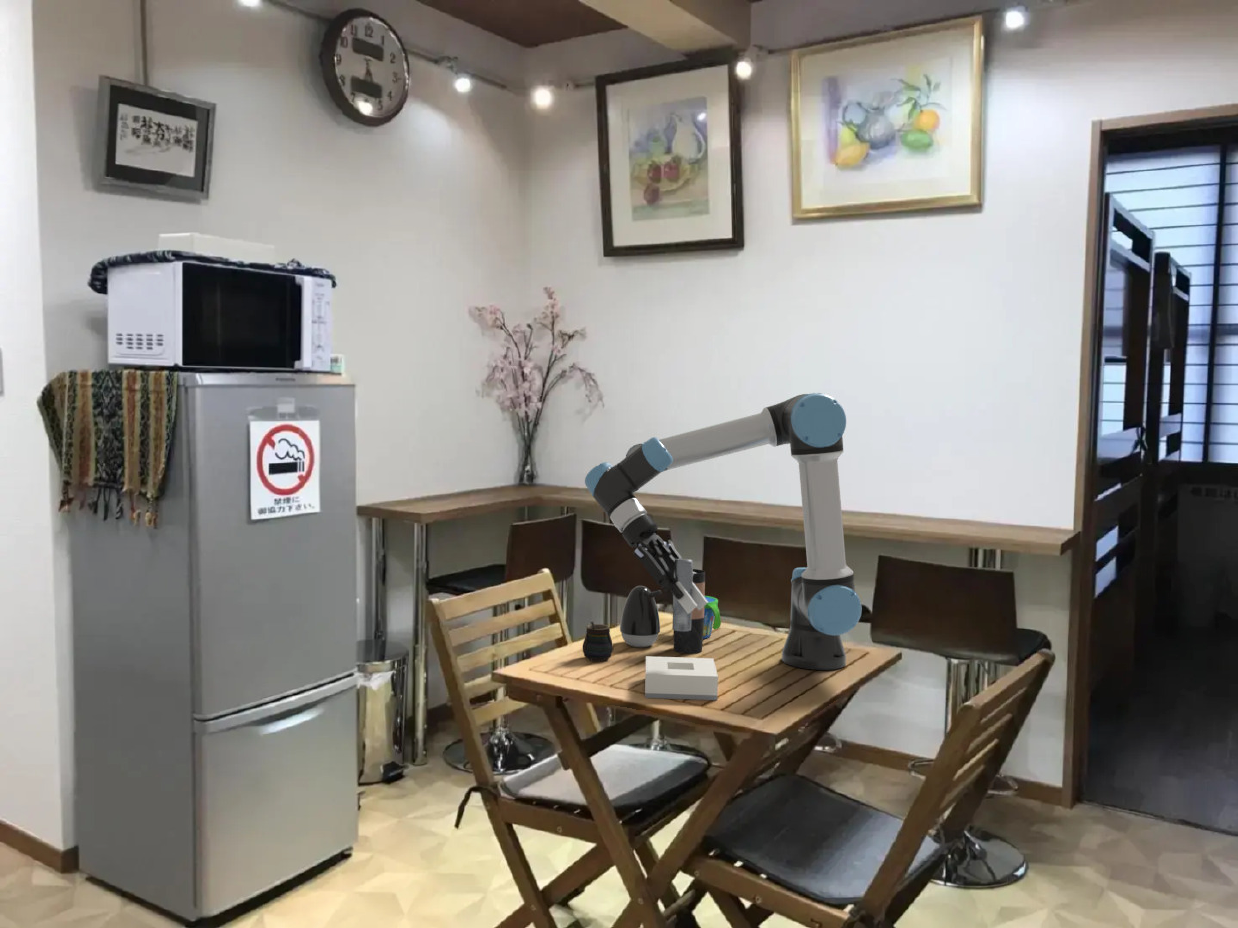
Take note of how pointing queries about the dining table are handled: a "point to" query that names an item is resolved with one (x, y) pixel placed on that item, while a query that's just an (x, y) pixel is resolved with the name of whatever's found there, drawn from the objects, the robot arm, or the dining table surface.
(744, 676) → the dining table surface
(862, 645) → the dining table surface
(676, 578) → the pin
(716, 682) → the hole block
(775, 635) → the dining table surface
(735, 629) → the dining table surface
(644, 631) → the pump dispenser
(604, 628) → the mate gourd
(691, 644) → the travel mug
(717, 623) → the snack cup
